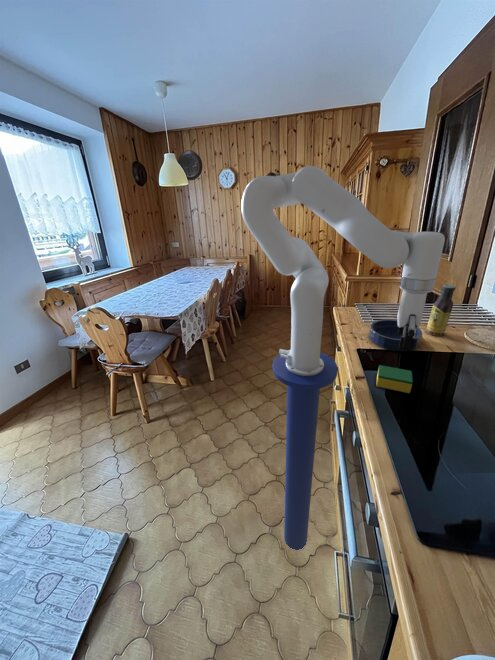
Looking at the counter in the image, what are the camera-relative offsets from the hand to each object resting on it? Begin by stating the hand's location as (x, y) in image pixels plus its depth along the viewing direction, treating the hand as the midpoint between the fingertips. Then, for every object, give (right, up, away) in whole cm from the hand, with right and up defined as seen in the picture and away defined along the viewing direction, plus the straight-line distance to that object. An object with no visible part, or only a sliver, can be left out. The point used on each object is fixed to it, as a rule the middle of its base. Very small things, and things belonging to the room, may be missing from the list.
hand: (404, 341), depth 79 cm
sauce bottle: (+31, +2, +33) cm, 45 cm away
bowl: (+12, -1, +29) cm, 32 cm away
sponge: (0, -13, +6) cm, 14 cm away
